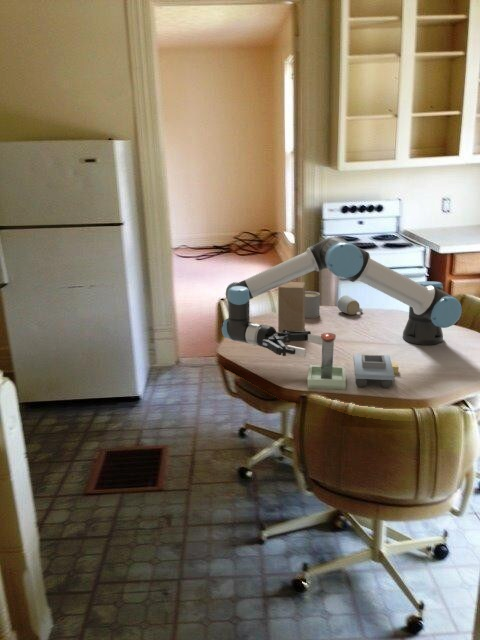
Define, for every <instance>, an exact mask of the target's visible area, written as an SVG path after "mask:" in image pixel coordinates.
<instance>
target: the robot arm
mask: <svg viewBox="0 0 480 640" xmlns="http://www.w3.org/2000/svg"><path fill="white" fill-rule="evenodd" d="M325 269H326V270H327V269H328V270H329V271H330V272H331V273H332V274H333V275H335V276H336V277H340V278H342V279H345V280H348V281H349V282H352V283H355V282H359V281H360V283H363V284H365V285H367V286H369V287H371V288H372V289H374V290H376V291H379V292H381V293H383V294H385V295H387V296H389V297H390V298H392V299H395V300H397V301H399V302H400V303H402V304H404V305H406V306H408V320H407V321H406V324H405V326H404V329H403V332H402V339H403V340H404V341H406V342H409V343H411V344H415V345H421V346H432V345H438V344H441V343H442V342H443V340H444V334H443V329H444V328H445V329H447V328H449V327H452V326H454V325H455V324H456V323H457V322H458V321H459V319H460V318H461V315H462V310H463V309H462V304H461V302H460V301H459V300H458V299H457V298H456V297H455V296H453V295H450V294H449V293H447V292H445V291H444V286H443V283H442V282H440V281H433V280H432V281H427V280H426V281H414V280H412V279H411V278H408V277H407V276H405V275H403V274H401V273H399V272H397V271H395V270H393V269H391V268H389V267H388V266H386V265H383V264H381V263H380V262H378V261H376V260H374V259H372V258H371V255H370V253H369V252H368V251H366V250H364V249H362V248H361V247H358V246H357V245H355V244H353V243H351V242H350V241H348V240H346V239H344V238H343V237H339V236H331V237H329V238H326V239H324V240H322V241H319V242H317V243H315V244H313V245H310V246H309V247H307V249H306V250H305V252H303V253H300V254H297V255H296V256H293V257H291V258H289V259H286V260H285V261H283V262H280V263H278V264H276V265H274V266H272V267H270V268H268V269H266V270H264V271H263V270H262V271H261V272H259V273H256V274H255V275H253V276H250V277H248V278H246V279H243V280H241V281H238V282H237V281H235V282H231V283H229V284H228V285H227V287H226V289H225V298H226V302H227V309H228V317H227V318H226V319H225V320H224V321H223V322H222V327H221V333H222V335H223V337H224V338H225V339H229V340H230V341H231V340H232V341H234V342H241V343H245V344H249V345H252V346H254V347H256V346H259V347H262V348H265V349H268V350H269V351H271V352H272V353H275V354H276V355H278V356H281V355H282V356H283V357H286V356H287V354H288V355H291V356H296V357H300V358H306V356H307V355H306V353H307V352H306V348H303V347H300V346H299V347H298V346H294V345H290V343H291V342H304V341H307V342H308V343H311V344H315V345H321V346H322V340H323V339H321V335H317V334H312V331H310V330H307V331H306V330H304V331H289V330H283V332H278V331H277V330H276V328H275V327H273V326H271V325H267V324H266V325H265V324H262V323H256V322H251V321H250V300H252V299H254V298H256V297H258V296H261V295H263V294H265V293H267V292H270V291H272V290H274V289H276V288H279V286H281V285H283V284H285V283H287V282H293V280H296V279H298V278H301V277H302V276H304V275H306V274H309V273H312V272H314V271H315V272H320V271H322V270H325ZM442 328H443V329H442ZM285 344H288V345H285Z"/></svg>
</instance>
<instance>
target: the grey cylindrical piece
mask: <svg viewBox="0 0 480 640" xmlns="http://www.w3.org/2000/svg"><path fill="white" fill-rule="evenodd" d="M320 295H321V294H320V292H317V291H311V290H305V319H315V318H318V317H320V307H321V306H320V304H321V302H320V300H321V296H320Z"/></svg>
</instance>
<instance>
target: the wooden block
mask: <svg viewBox="0 0 480 640" xmlns="http://www.w3.org/2000/svg"><path fill="white" fill-rule="evenodd" d="M277 289H278V294H277V295H278V297H277V299H278V300H277V301H278V303H277V305H278V306H277V310H278V311H277V312H278V314H277V316H278V317H277V318H278V321H277V323H278V324H277V327H278V331H277V332H283V330H289V331H305V325H306V324H305V321H306V318H305V291H306V282H304V281H289V282H287V283H285V284H283V285H281V286H278V287H277Z"/></svg>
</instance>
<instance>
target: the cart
mask: <svg viewBox="0 0 480 640" xmlns="http://www.w3.org/2000/svg"><path fill="white" fill-rule="evenodd" d="M353 366H354V367H353V369H354V376H355V384H356V386H357V387H358V388H364V387H366V386H367V383H368V380H381V381H380V382H381V387H382V388H384V389H391V388H392V387H393V385H394V382H393V381H395V377H396V375H398V374H399V364H398V362H393V361H392V360H391V356H390V355H389V354H366V353H365V354H364V353H363V354H362V353H361V354H360V353H354V354H353ZM395 374H396V375H395Z"/></svg>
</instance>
